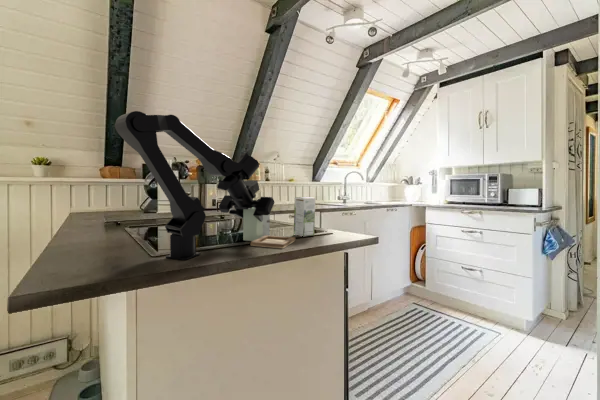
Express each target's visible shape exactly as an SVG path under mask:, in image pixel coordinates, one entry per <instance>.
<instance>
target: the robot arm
mask: <svg viewBox="0 0 600 400" xmlns="http://www.w3.org/2000/svg"><path fill="white" fill-rule="evenodd" d="M114 128H115V131H116V133H117V134H118V135H119V136H120V137H121V138H122V139H123V141H125V143H126V144H127V145H128V146H130V147H131V148H132V149H133V150H134V151H136V153H138V154H139V155H140V157H141V159H142V161H144V164H145V166H147V168H148V170H149V171H150V173H151V175H152V176H153V177H154V179H155V181H156V183H157V184H158V186H159V187H160V189H161V191H162V192H163V194H164V195H165V196H166V198H167V200H168V202H169V207H170V213H171V215H172V217H171V218H170V219H169V221H168V222H167V223H166V224H165V225H164V228H165V230H166V233H167V234H170V236H169V241H170V244H169V245H170V249H169V250H170V253H169V254H167V255H165V258H166V259H174V260H182V261H186V260H189V259H191V258H194V257H197V256H199V255H201V252H199V251H197V238H196V235H197V236H198V235H200V234H201V230H202V226H203V225H204V224H205V221H206V218H207V215H206V212H205V211H206V208H205V207H204V206H203V205H202V203H201V200H200V198H199V197H198V196H197V197H196V196H189V195H188V194H187V192H186V191H185V189H184V187H183V186H182V184H181V182H180V180H179V179H178V177H177V176H176V174H175V172H174V170H173V169H172V166H171V165H170V164H169V162H168V160H167V159H166V156H165V155H164V153H163V152H162V150H161V149H160V147H159V143H158V135H157V133H163V132H164V133H166V134H167V135H168V136H169V137H171V139H173V140H174V141H176V142H177V143H178V144H179V145H181V146H182V147H183V148H184V149H185V150H187V151H188V152H189V153H190V154H192V156H195V157H196V159H198V160H199V162H200V163H201V165H202V167H203V168H204V170H205V171H206V172H207V173H208V174H209V175H211V176H213V177H223V178H222V179H219V181H218V184H217V189H219V190H221V191H226V192H227V193H228V194H229V195H225V194H224V196H223V197H222V200H221V201H220V203H219V204H218V210H219V211H220V212H221V213H224V214H225V213H226V214H227V213H229V214H230V215H234V216H235V217H238V218H241V219H243V209H252V207H254V208H255V212H254V214H253V215H254V216H255V217H256V218H257V219H258V220H259V221H261V222H262V221H263V215H269V214H270V213H271V211H272V209H273V207H274V204H275V200H274V198H273V197H272V196H261V197H260V198H258V199H255V198H256V197H257V195H256V193H257V192H258V191H259V190H260V185H259V181H258V180H252V179H251V177H252V176H253V175H254V174H255V173H256V171H257V170H258V169H259V167H260V163H259V161H258V160H257V159H256V158H255V157H253V156H251V155H249V153H248V152H243V153H241V155H240V156H239V157H238V159H237V160H236V161H233V159H232V158H231V157H230V156H229V155H227V154H224V153H223V152H221V151H218V150H215V149H214V148H212V147H211V146H209V144H207V143H206V142H205V141H204V140H202V139H201V137H199V136H198V135H197V134H196V133H194V132H193V131H192V130H191V129H190V128H189V127H187V125H185V124H184V123H183V122H182V121H181V120H180V118H179V117H178V116H177V115H174V114H167V115H166V114H165V115H164V114H163V115H162V114H147V113H144V112H142V111H139V110H134V111H130V112H127V113H124V114H122V115H120V116H118V117H117V119H116V120H115V124H114ZM250 179H251V180H250ZM270 215H271V214H270Z"/></svg>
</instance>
